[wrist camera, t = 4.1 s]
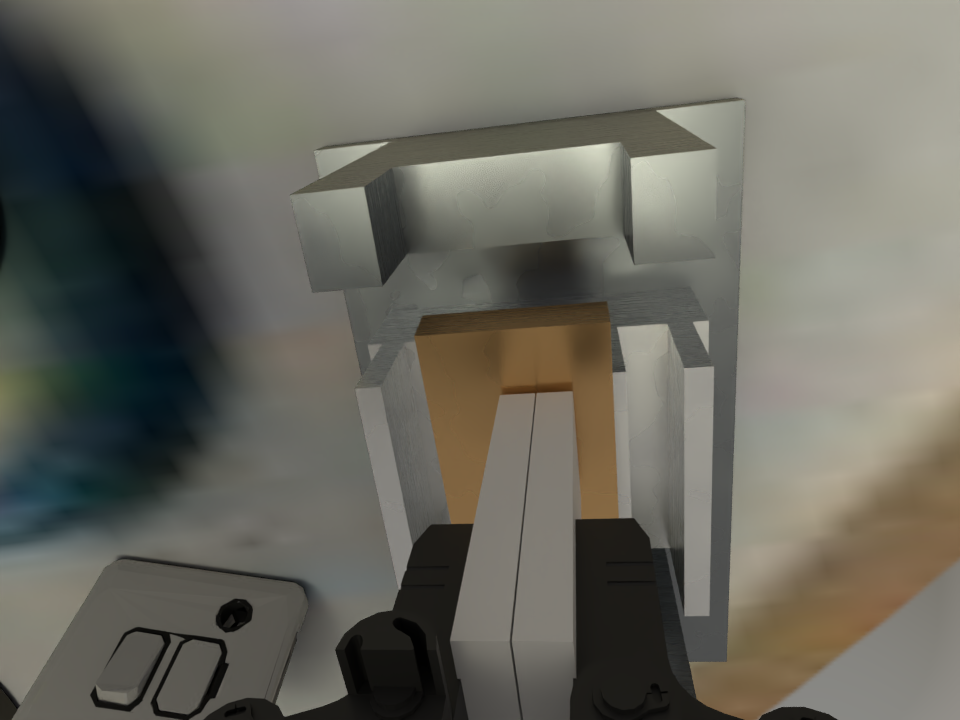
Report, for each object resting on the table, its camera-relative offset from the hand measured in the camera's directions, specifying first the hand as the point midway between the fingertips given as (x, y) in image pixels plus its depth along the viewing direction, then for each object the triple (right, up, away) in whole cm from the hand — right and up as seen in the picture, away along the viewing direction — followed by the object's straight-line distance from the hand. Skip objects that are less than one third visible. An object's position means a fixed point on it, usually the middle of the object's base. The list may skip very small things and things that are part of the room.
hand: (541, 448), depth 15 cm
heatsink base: (+1, -1, +11) cm, 11 cm away
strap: (0, -4, +4) cm, 5 cm away
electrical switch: (-13, -10, +17) cm, 24 cm away
